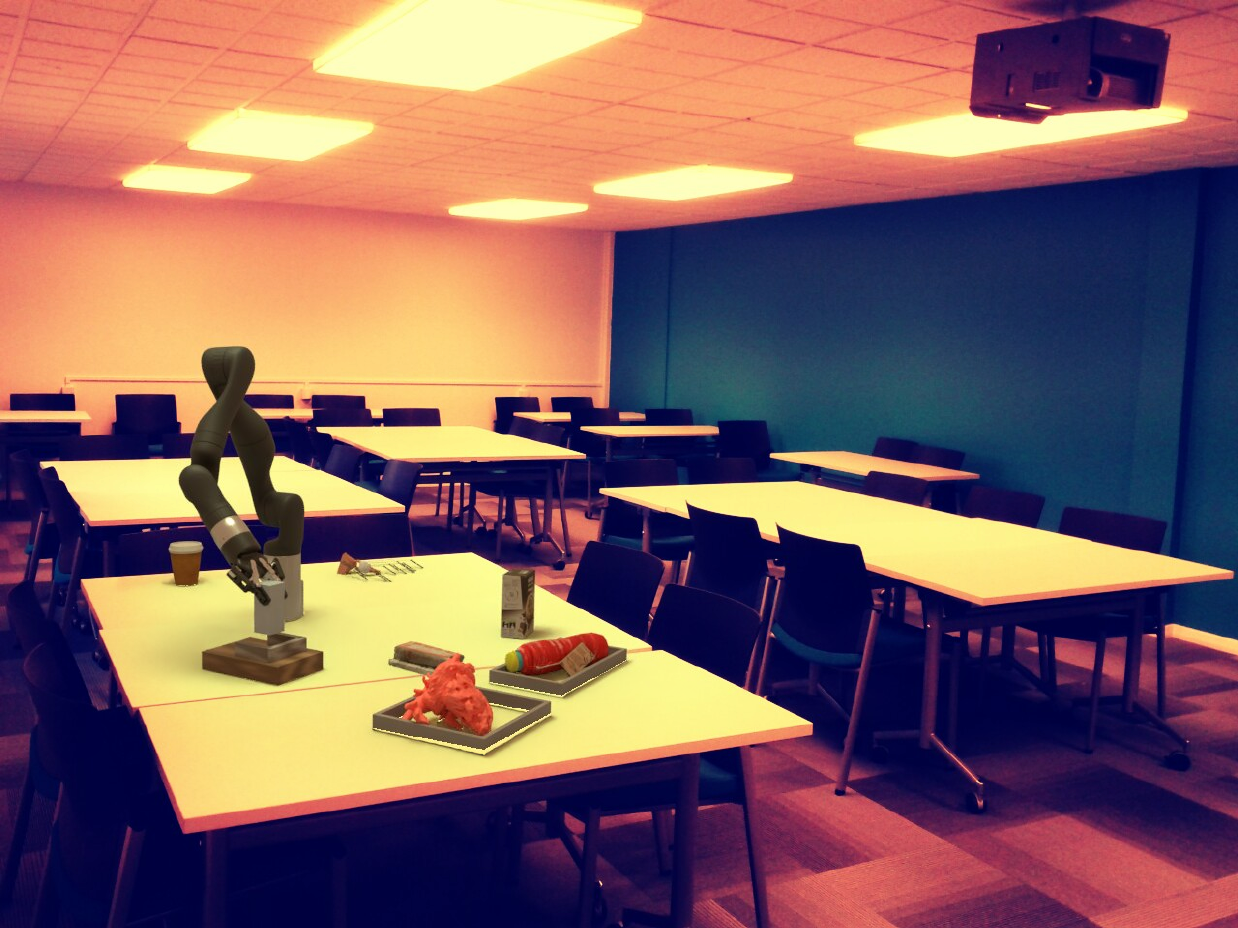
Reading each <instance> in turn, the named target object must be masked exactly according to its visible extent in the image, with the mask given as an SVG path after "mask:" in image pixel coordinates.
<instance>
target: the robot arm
mask: <svg viewBox="0 0 1238 928" xmlns="http://www.w3.org/2000/svg"><path fill="white" fill-rule="evenodd" d="M201 371H202V374H203V377H204V378H205V381H206V383H207V385H208V388H209V390H210V391H211V393H212V396H213V397H214V399H215V402H214V404H212V406H211V407H210V408H209V409H208V411H206V413H204V415H203V416H202V417H201V419H200V420H199V422H198V424H197V426H196V429H195V432H194V435H193V438H192V441H191V444H190V445H191V446H190V451H189V455H190V464H189V465H187V466H185V467H183V469H182V470H180V471H181V472H179V476H178V485H179V487H180V490H181V492H182V494H183V496H184V498H185V499H186V500H187V501H188V502H189V503H191V504H192V505H193V507H194V508H195V510H196V511H197V513H198V515H199V518H200V519H201V521H202V523H203V525H204V526H205V528H206V529H207V531H208V532H209V534H210V536H211V537H212V539H213V541H214V543H215V545H216V546H217V548H218V549H219V550H220V552H221V554H222V555H223V556H224V559H225V560H226V561H227V563H228V564H229V566H231V568H230V569H229V570H228V571H227V573H226V576H227V578H228V579H230V581H232V583H234V584H235V585H236V586H237V587H238V589H240V590H241V591H242V592H243V593H245V594H246V593H251V594H253V596H254V595H255V596H256V598H257V599H258V600H259V602H260V603H261V604H262V605H263V606H267V605H268V604H269V603H270V602H271V599H270V598H269V596H268V595H267V593H266V592H265V590H264V589H263V587H261V584H260V582H262V581H266V580H275V581H281V582H285V622H291V621H295V620H298V619H300V618H302V617H303V616H304V580H303V579H302V578H301V577H302V573H301V572H302V570H301V569H302V568H301V566H302V564H301V561H302V559H301V558H302V557H301V555H302V553H301V551H302V545H303V541H304V531H305V529H304V528H305V526H304V524H305V504H304V501H303V498H302V496H301V495H299V494H298V493H294V492H285V491H277V490H276V489H275V487H274V485H273V481H272V478H271V473H270V471H271V468H272V465H273V462H274V459H275V455H276V445H275V441H274V439H273V438H274V437H273V436H272V435H273V434H272V432H271V430H270V427H269V425H268V423H267V421H265V419H264V418H263V417H262V416H261V414H259V413H258V412H257V411H256V410H255V409H254V408H253V407H252V406H251V405H250V404H248V403H247V402H246V401H245V400H244V399H245V396H246V393H247V392H248V390H249V387H250V386H251V383H252V381H253V378H254V377H255V371H256V360H255V357H254V354H253V352H252V351H251V349H249V347H246V346H239V345H237V346H236V345H235V346H233V345H232V346H215V347H214V346H213V347H209V348H207V349H205V350H204V351H203V353H202V355H201ZM229 435H230V437H231V441H232V443H233V447H234V449H235V451H236V454H237V456H238V458H239V461H240V464H241V465H242V469H243V472H244V475H245V477H246V481H247V484H248V487H249V491H250V495H251V498H252V503H253V507H254V511H255V513H256V516H257V518H258V520H259V522H260V523H261V524H262V525H264V526H266V527H272V528H279V531H278V532H279V533H278V536H277V537H276V538H274V539H271V540H267V541H265V543H264V544H263V554H262V547H261V545H260V544H259V542H258V540H257V539H256V538H255V536H254V534H253V533H252V532H251V530H250V529H249V526H248V525H246V523H245V522H244V521H243V519H241V517H240V516H239V514H238V513H237V512H236V510H235V509H234V507H233V506H232V505H231V503H230V502H229V501H228V499H227V498H226V497H225V495H224V494H223V492H222V490H221V487H220V486H219V477H220V471H221V470H220V469H221V461H222V457H223V455H224V450H225V447H226V445H227V440H228V436H229Z"/></svg>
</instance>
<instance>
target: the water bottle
mask: <svg viewBox="0 0 1238 928" xmlns="http://www.w3.org/2000/svg"><path fill="white" fill-rule="evenodd" d="M559 638H560V637H559ZM609 646H610V645H609V643H608V640H607V639H606V637H605V636H604V635H602V634H599V633H596V632H595V633H594V632H585V633H579V634H576V635H570V636H566V637H561V638H560V639H558V638H555V639H554V638H553V639H539V640H534V641H529V642H525V643H522V644H521V645H520V646H518V648H517V649H515V650H512V651H509V652H507V653H506V654H505V657H504V663H505V665H506V668H507V670H508V671H509V672H511V673H512V672H516V671H517V672H518V673H519V674H520V675H526V676H531V677H539V676H544V675H550V674H552V673H556V672H559V671H564V672H565V673H566V674H567V676H568V678H569V677H570V676H572V675H574V674H576V673H578V672H580V671H581V670H583V669H585V668H587V667H589V666H591V665H593V664H594V663H596V662H598V661H600V660H602V659H604V658H605V657H607V656H608V654H609Z"/></svg>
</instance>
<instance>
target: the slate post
mask: <svg viewBox="0 0 1238 928" xmlns="http://www.w3.org/2000/svg"><path fill="white" fill-rule="evenodd" d="M260 584H261V587H263V589H264V590H265V592H266V593H267V595H268V596H269V598H270V599H271V602H270V603H269V604H268V605H267V606H263V605H262V604H261V603H260V602H259V600H258V599H257V598H256V596H255V595H254V594H253V599H254V601H253V605H254V606H253V611H254V612H253V620H254V621H253V623H254V624H253V633H255V634H260V635H266V636H267V635H269V636H270V635H273V634H277V633H280V632H281V633H284V632H285V631H286V629H285V628H286V627H285V622H286V621H285V582H281V581H275V580H266V581H260Z"/></svg>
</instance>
